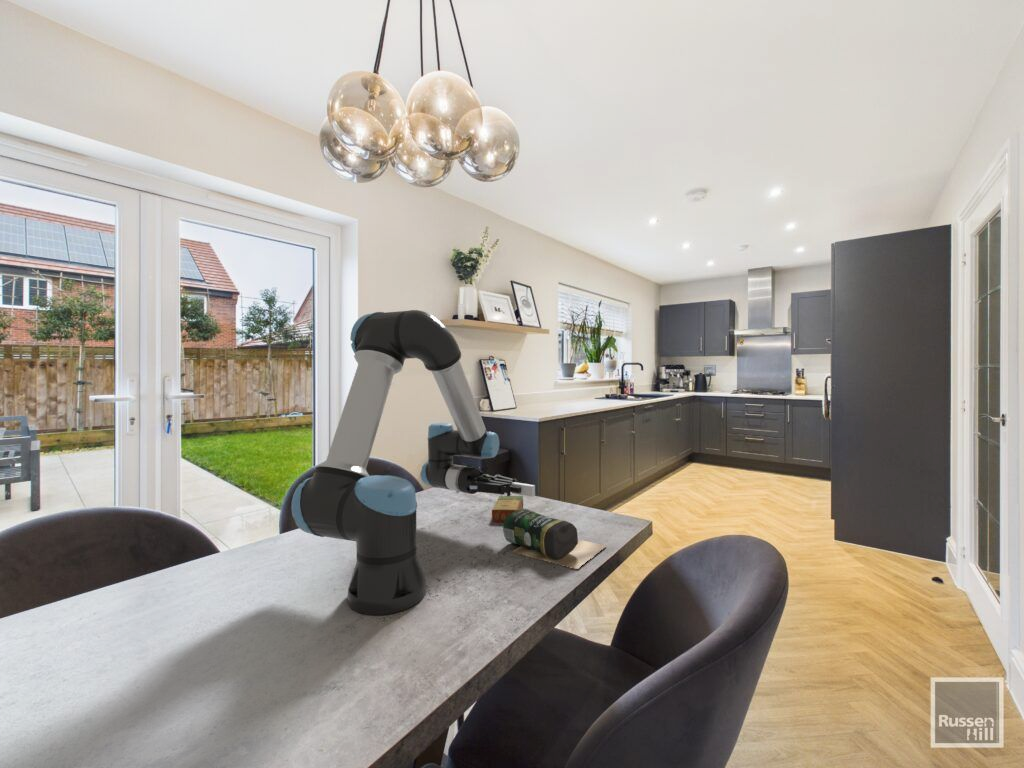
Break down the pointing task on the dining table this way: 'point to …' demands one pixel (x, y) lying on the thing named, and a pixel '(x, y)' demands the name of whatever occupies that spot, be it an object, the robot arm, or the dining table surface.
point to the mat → (572, 559)
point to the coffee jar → (540, 533)
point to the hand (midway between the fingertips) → (533, 491)
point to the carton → (506, 507)
